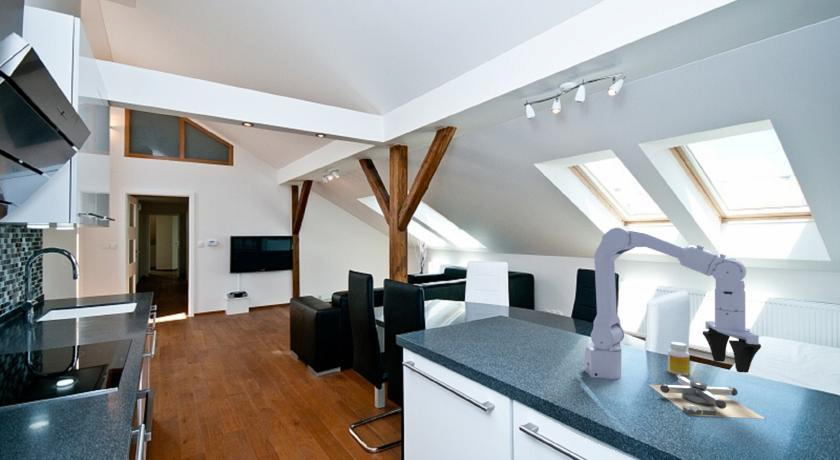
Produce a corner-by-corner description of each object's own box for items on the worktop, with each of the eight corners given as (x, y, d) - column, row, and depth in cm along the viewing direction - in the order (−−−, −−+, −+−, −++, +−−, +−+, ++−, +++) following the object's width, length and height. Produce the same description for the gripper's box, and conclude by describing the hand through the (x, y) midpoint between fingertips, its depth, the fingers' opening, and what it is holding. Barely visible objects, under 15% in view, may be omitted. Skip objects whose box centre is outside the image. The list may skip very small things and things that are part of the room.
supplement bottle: (693, 380, 111) (693, 346, 111) (672, 378, 112) (672, 345, 112) (684, 373, 116) (684, 341, 116) (664, 372, 117) (664, 340, 117)
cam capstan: (682, 413, 87) (682, 397, 87) (642, 382, 105) (642, 369, 105) (766, 416, 86) (766, 400, 86) (712, 385, 104) (712, 372, 104)
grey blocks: (688, 414, 87) (688, 406, 87) (682, 410, 89) (682, 402, 89) (716, 415, 86) (716, 407, 86) (710, 411, 88) (710, 403, 88)
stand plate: (689, 420, 86) (689, 415, 86) (648, 388, 104) (648, 384, 104) (765, 424, 85) (765, 418, 85) (710, 391, 103) (710, 386, 103)
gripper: (773, 316, 85) (773, 377, 84) (725, 304, 99) (725, 357, 99) (739, 315, 85) (739, 376, 85) (696, 303, 100) (697, 356, 99)
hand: (730, 366), depth 92 cm, fingers open, 7 cm apart
